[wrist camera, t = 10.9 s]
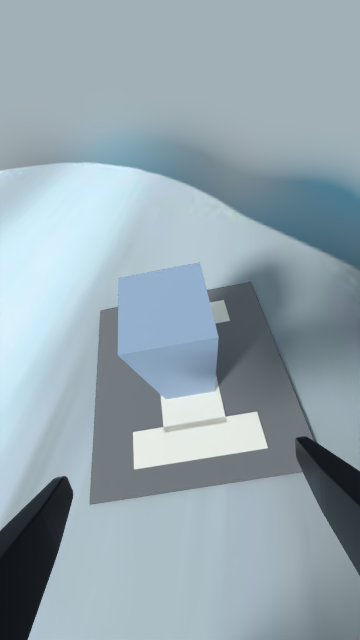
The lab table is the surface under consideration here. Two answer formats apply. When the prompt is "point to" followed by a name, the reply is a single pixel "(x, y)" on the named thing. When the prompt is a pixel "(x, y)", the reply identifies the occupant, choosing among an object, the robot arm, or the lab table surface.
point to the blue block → (168, 330)
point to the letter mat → (196, 413)
